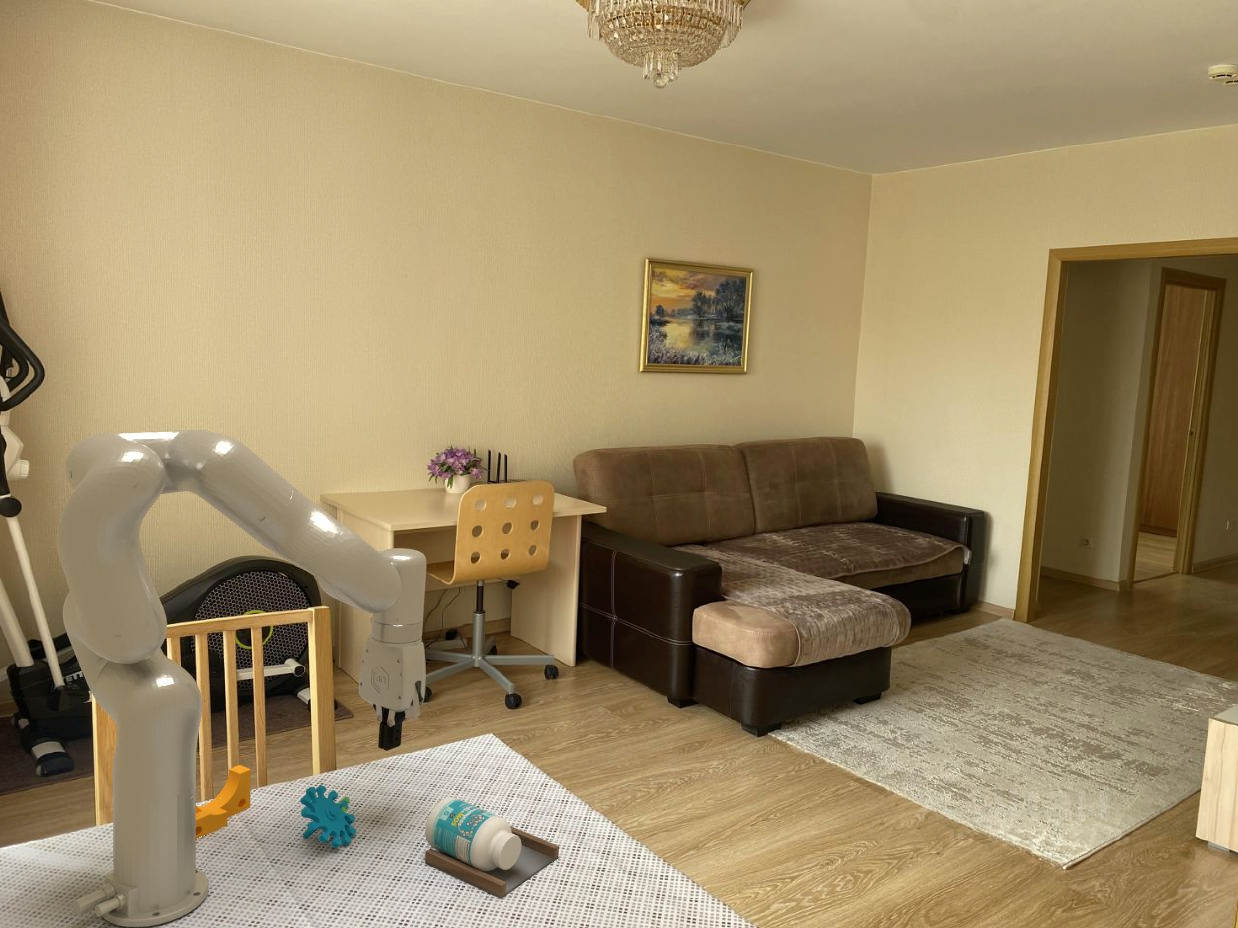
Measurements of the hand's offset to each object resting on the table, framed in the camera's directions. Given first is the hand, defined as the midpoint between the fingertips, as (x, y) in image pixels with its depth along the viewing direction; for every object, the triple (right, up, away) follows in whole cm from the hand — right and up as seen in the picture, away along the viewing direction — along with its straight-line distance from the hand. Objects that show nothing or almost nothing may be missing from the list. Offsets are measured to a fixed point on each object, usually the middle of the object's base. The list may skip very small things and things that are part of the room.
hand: (389, 746), depth 143 cm
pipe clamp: (-26, -11, -3) cm, 28 cm away
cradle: (+17, -14, -9) cm, 24 cm away
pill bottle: (+9, -9, -6) cm, 14 cm away
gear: (-8, -12, -5) cm, 15 cm away
